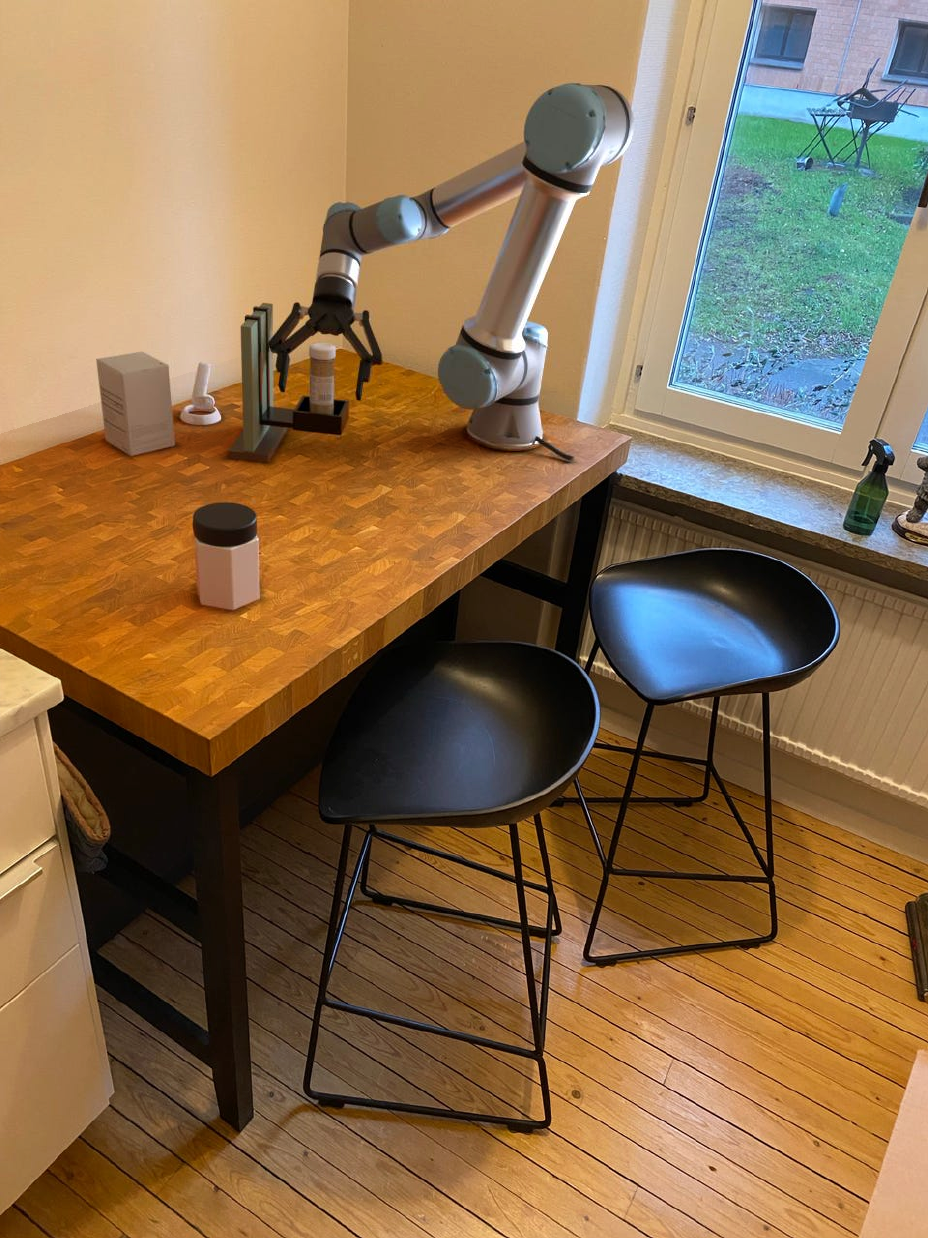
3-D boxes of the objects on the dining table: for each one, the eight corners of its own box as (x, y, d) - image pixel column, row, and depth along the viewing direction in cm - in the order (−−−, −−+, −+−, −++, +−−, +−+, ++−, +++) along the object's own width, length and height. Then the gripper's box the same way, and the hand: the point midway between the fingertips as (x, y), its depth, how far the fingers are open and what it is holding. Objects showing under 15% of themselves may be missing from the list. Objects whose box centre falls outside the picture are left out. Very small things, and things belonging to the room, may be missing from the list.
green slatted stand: (287, 428, 181) (287, 304, 168) (267, 462, 166) (266, 329, 154) (251, 424, 181) (249, 300, 168) (228, 458, 166) (223, 324, 154)
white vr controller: (226, 378, 186) (230, 368, 179) (217, 436, 185) (220, 428, 178) (187, 368, 184) (190, 358, 177) (177, 428, 183) (179, 419, 176)
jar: (235, 572, 133) (232, 495, 127) (273, 594, 129) (272, 516, 123) (182, 593, 127) (176, 513, 121) (219, 617, 123) (216, 536, 117)
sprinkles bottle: (334, 415, 173) (336, 342, 166) (333, 424, 169) (335, 349, 162) (308, 413, 172) (309, 340, 165) (308, 422, 168) (308, 348, 161)
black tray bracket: (348, 418, 175) (352, 315, 165) (341, 435, 167) (344, 329, 157) (257, 408, 174) (255, 304, 164) (246, 424, 167) (243, 317, 157)
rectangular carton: (149, 430, 173) (143, 349, 165) (176, 446, 168) (170, 364, 160) (103, 440, 167) (94, 357, 159) (129, 457, 162) (121, 372, 155)
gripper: (404, 305, 174) (390, 410, 169) (271, 289, 174) (253, 394, 169) (403, 281, 167) (389, 390, 162) (264, 266, 166) (245, 374, 162)
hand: (319, 393), depth 165 cm, fingers open, 13 cm apart
